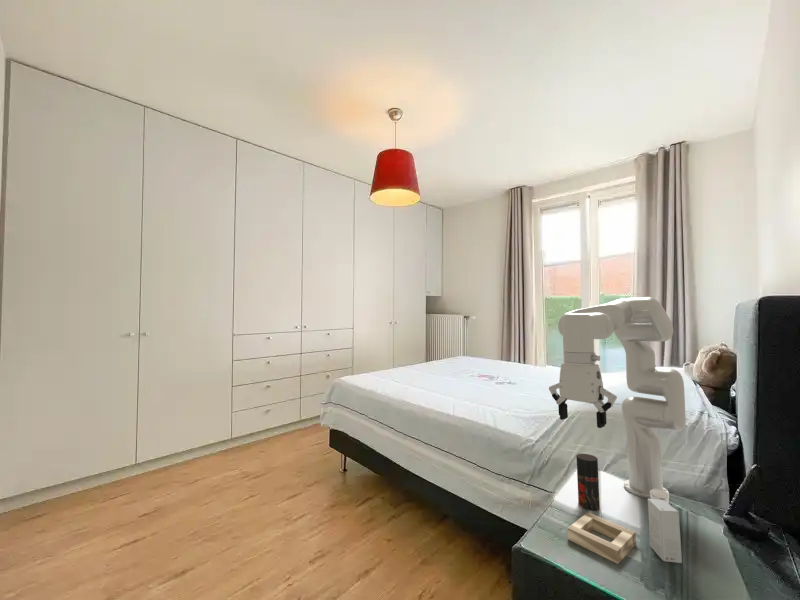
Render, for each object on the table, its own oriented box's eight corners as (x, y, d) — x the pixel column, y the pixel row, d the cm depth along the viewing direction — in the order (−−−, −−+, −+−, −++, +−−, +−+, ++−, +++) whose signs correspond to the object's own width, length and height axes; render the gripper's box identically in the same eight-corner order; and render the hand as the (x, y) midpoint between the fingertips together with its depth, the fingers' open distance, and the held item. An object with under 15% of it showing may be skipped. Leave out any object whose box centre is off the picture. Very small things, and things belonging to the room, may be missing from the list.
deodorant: (602, 511, 104) (600, 461, 105) (581, 509, 105) (579, 460, 106) (595, 501, 110) (593, 454, 111) (576, 500, 111) (574, 453, 112)
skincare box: (682, 564, 82) (679, 512, 82) (663, 562, 82) (660, 510, 83) (667, 547, 88) (664, 499, 88) (649, 545, 88) (646, 498, 89)
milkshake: (672, 521, 99) (669, 485, 100) (670, 529, 95) (668, 492, 96) (652, 515, 102) (650, 480, 103) (650, 522, 98) (648, 487, 99)
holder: (588, 523, 98) (587, 512, 99) (636, 543, 89) (635, 532, 89) (568, 539, 91) (567, 527, 91) (618, 564, 82) (617, 551, 82)
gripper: (619, 360, 88) (623, 427, 87) (555, 355, 102) (557, 413, 100) (608, 362, 83) (611, 433, 82) (541, 357, 97) (543, 418, 96)
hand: (581, 422), depth 91 cm, fingers open, 9 cm apart
